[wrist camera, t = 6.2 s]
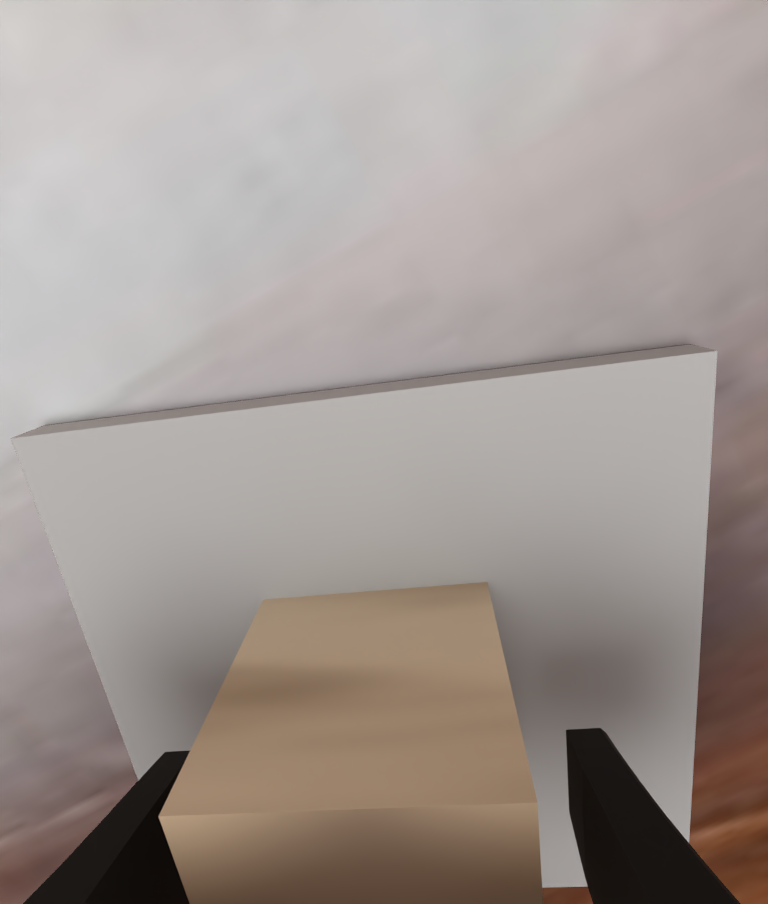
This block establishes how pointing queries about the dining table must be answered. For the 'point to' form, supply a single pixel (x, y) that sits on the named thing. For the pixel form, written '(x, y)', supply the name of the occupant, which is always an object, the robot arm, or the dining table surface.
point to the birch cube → (361, 760)
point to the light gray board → (410, 544)
